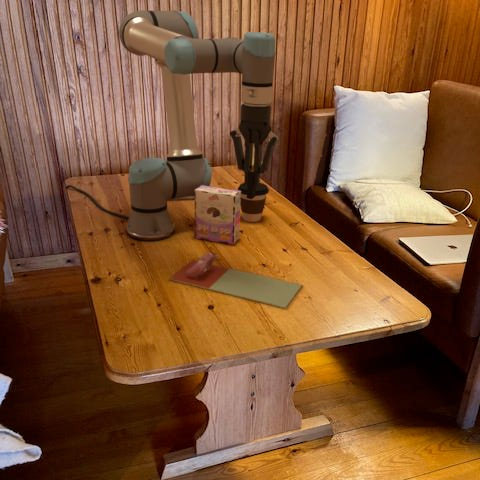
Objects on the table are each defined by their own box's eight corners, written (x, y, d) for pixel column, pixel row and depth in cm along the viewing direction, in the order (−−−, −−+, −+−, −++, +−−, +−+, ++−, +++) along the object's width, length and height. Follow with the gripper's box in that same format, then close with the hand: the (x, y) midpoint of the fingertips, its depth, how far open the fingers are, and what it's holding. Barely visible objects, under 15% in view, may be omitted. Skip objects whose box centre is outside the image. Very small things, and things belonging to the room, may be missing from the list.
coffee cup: (231, 221, 188) (232, 188, 182) (243, 211, 197) (244, 179, 190) (260, 226, 185) (262, 193, 178) (271, 216, 193) (273, 184, 187)
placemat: (170, 280, 148) (170, 278, 148) (193, 261, 159) (193, 259, 159) (285, 308, 137) (285, 307, 137) (301, 286, 148) (301, 284, 148)
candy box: (239, 239, 175) (241, 190, 166) (233, 245, 170) (235, 195, 161) (201, 232, 178) (201, 183, 170) (194, 238, 174) (193, 189, 165)
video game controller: (196, 285, 148) (206, 267, 144) (183, 275, 149) (193, 257, 144) (211, 271, 156) (222, 254, 152) (199, 262, 156) (209, 244, 152)
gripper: (225, 103, 129) (223, 197, 142) (275, 109, 125) (268, 205, 138) (238, 99, 135) (234, 189, 148) (286, 104, 131) (278, 197, 144)
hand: (251, 197), depth 143 cm, fingers closed
